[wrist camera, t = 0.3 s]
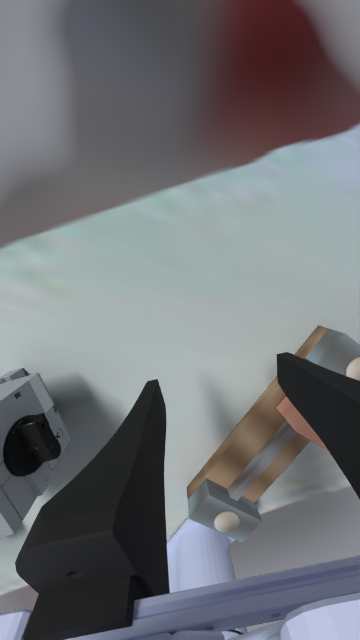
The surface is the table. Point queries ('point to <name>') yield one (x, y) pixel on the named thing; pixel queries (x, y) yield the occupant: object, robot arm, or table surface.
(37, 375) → the circuit breaker
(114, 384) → the table surface
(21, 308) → the table surface
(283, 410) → the carriage
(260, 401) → the rail
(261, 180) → the table surface
